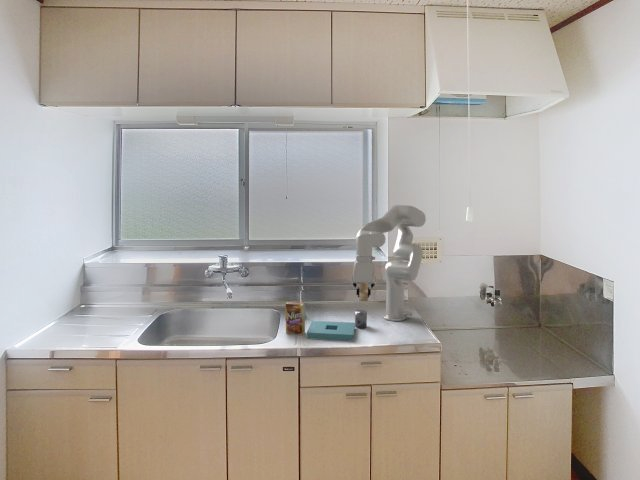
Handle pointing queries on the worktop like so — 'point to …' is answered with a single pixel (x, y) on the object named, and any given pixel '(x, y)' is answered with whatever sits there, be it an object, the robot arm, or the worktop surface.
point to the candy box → (295, 318)
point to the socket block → (331, 330)
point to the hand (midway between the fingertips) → (363, 296)
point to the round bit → (360, 319)
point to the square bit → (363, 292)
